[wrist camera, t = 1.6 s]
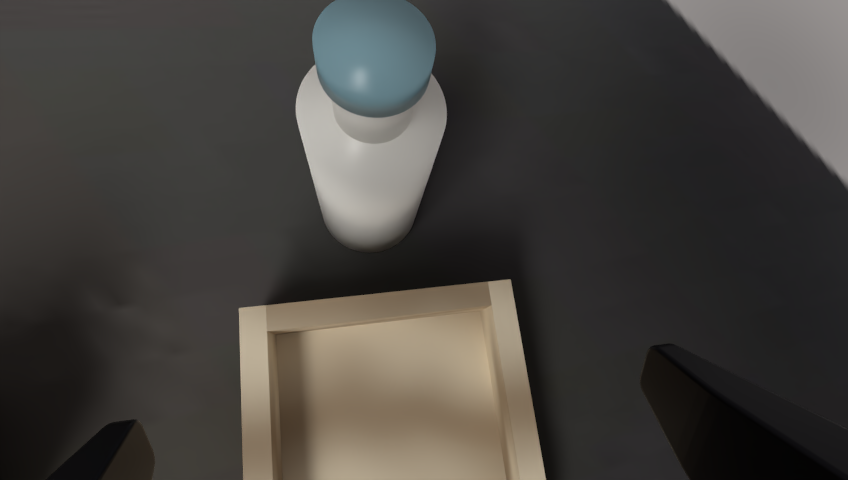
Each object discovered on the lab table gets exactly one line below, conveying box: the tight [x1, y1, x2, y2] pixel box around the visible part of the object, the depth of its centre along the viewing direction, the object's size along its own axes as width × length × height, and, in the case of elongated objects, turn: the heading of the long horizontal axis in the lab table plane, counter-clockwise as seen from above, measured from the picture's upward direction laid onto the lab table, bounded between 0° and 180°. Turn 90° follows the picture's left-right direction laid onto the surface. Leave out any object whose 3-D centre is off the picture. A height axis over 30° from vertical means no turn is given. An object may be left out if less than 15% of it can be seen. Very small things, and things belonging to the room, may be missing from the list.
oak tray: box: [239, 279, 546, 480], centre depth 19 cm, size 11×11×3 cm
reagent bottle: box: [296, 0, 447, 253], centre depth 17 cm, size 5×5×12 cm
